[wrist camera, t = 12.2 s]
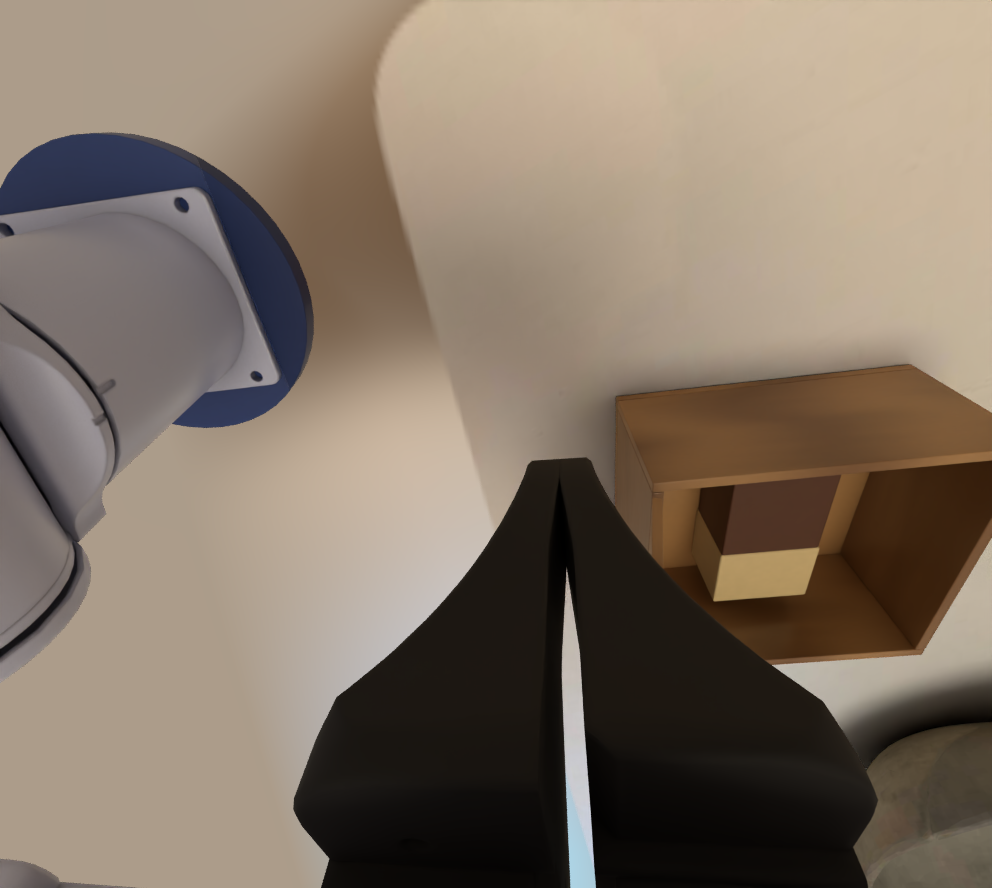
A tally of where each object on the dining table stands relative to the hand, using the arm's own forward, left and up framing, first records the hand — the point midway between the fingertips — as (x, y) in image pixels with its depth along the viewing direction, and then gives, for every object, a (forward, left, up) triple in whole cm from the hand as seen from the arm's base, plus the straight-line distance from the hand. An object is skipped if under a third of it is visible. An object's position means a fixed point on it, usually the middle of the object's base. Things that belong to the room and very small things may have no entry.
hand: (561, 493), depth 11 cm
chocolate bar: (+9, -8, -9) cm, 15 cm away
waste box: (+9, -8, -10) cm, 16 cm away
